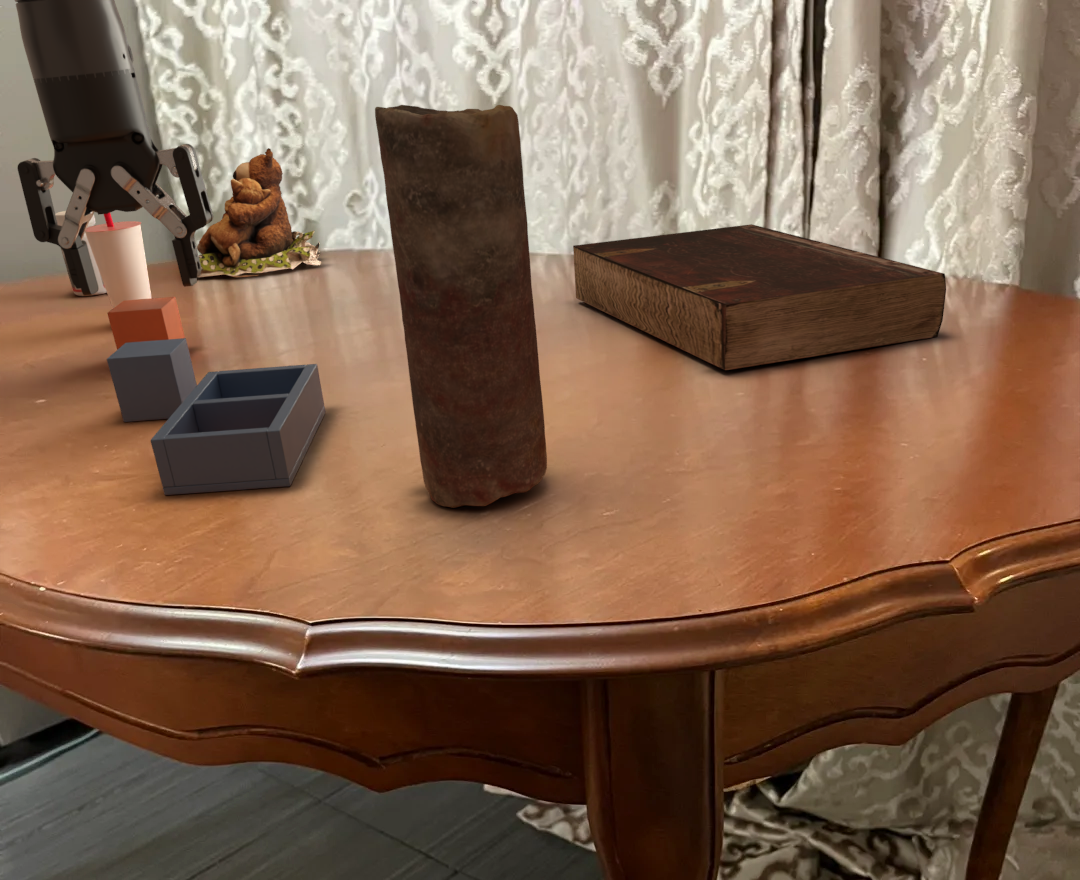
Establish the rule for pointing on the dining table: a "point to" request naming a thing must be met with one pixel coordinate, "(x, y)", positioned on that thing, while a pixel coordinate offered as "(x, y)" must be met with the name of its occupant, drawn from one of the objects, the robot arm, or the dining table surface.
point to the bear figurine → (255, 227)
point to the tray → (240, 430)
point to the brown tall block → (465, 298)
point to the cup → (120, 259)
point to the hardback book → (758, 294)
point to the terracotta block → (145, 320)
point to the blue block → (151, 378)
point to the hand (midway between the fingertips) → (141, 289)
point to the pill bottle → (101, 288)
